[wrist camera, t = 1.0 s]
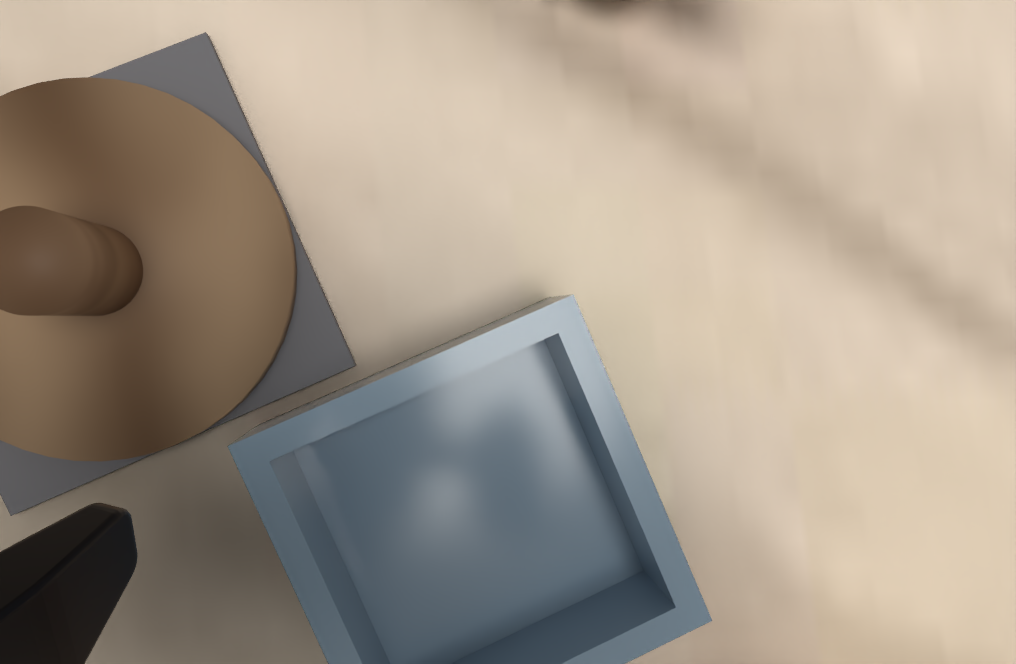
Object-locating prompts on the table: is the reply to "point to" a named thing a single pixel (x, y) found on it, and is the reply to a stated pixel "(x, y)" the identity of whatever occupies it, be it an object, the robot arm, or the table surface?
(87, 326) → the lid
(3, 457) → the mat
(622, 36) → the table surface
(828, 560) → the table surface
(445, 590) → the dish
